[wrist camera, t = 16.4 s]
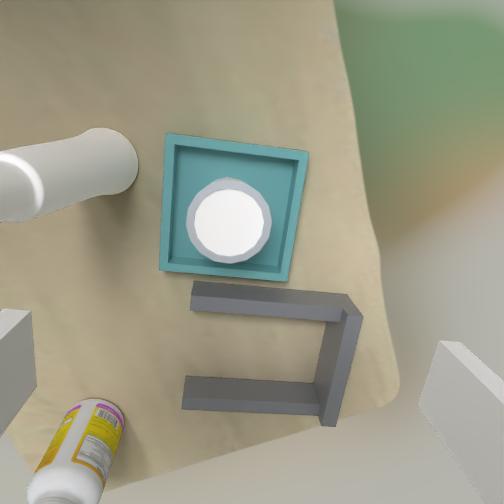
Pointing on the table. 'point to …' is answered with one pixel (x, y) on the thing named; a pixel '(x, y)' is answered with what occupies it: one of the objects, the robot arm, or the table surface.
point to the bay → (278, 392)
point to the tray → (247, 170)
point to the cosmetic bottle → (64, 173)
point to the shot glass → (228, 221)
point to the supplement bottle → (78, 456)
